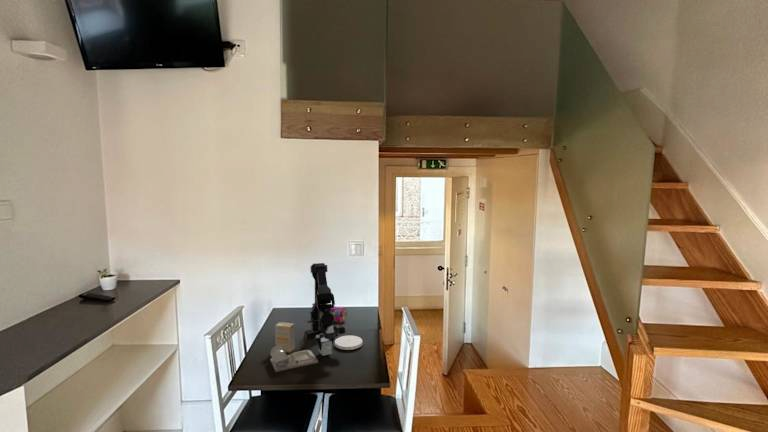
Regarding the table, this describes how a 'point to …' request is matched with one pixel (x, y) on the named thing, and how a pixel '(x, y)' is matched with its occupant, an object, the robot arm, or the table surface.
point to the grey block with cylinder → (326, 346)
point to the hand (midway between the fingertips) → (325, 349)
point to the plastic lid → (348, 342)
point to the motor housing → (290, 359)
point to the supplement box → (285, 336)
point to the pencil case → (338, 313)
